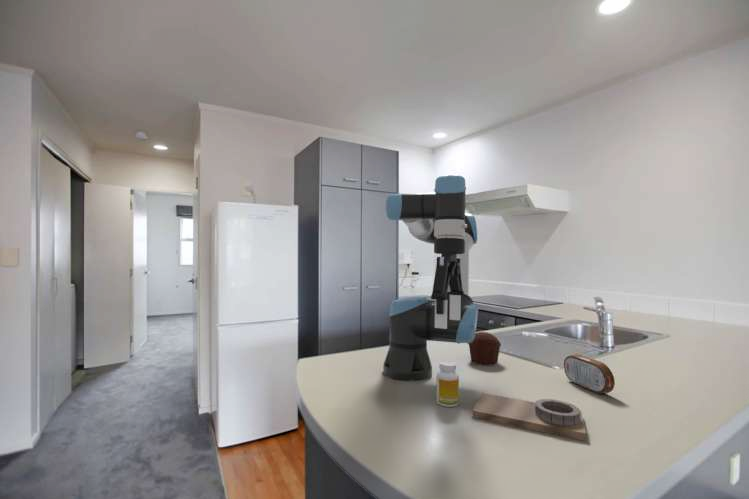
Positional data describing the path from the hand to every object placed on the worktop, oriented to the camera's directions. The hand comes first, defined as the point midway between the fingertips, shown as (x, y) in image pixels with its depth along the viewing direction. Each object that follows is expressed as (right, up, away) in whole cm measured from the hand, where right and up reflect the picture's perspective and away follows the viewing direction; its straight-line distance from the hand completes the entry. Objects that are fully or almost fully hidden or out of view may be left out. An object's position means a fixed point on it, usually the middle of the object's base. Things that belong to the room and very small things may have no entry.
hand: (448, 323), depth 87 cm
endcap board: (+16, -20, -8) cm, 26 cm away
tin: (+42, -21, +12) cm, 48 cm away
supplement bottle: (0, -20, 0) cm, 20 cm away
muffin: (+20, -21, +36) cm, 47 cm away
